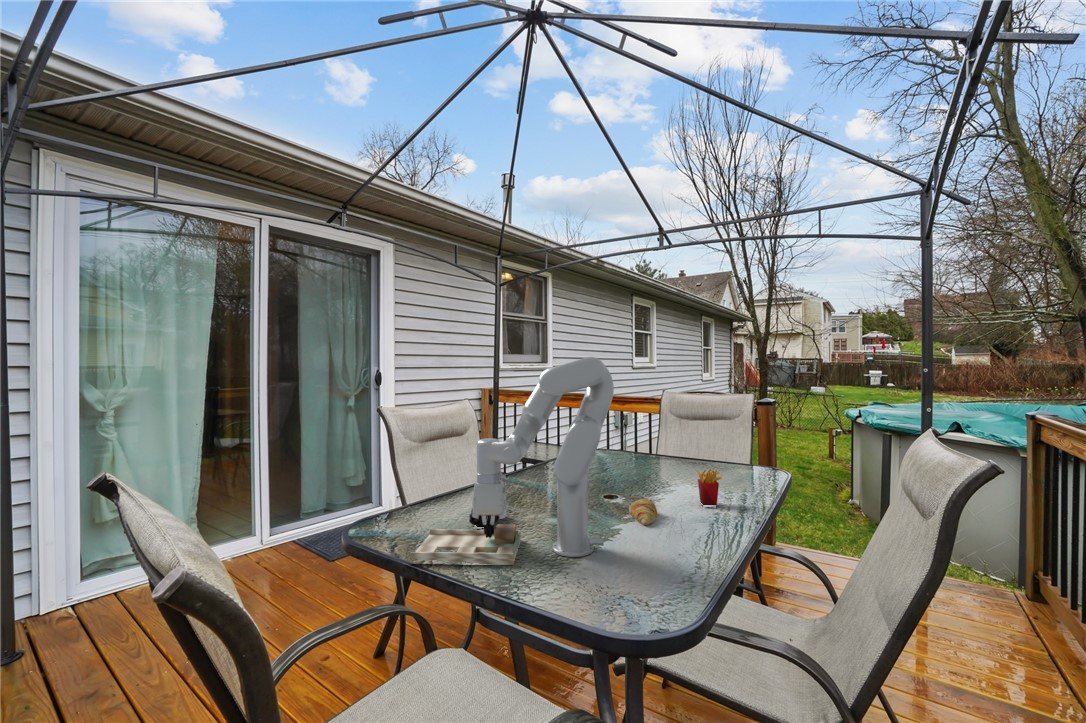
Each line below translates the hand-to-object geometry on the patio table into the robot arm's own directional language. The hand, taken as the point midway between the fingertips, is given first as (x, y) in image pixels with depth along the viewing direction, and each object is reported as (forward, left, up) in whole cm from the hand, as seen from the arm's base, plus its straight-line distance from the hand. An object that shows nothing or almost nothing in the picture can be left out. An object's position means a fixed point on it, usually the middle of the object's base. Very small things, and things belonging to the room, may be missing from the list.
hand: (489, 536), depth 152 cm
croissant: (-52, -29, -4) cm, 60 cm away
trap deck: (+6, +5, -3) cm, 8 cm away
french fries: (-80, -42, -4) cm, 91 cm away
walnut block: (-5, 0, -1) cm, 5 cm away
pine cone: (+5, -22, -4) cm, 23 cm away
